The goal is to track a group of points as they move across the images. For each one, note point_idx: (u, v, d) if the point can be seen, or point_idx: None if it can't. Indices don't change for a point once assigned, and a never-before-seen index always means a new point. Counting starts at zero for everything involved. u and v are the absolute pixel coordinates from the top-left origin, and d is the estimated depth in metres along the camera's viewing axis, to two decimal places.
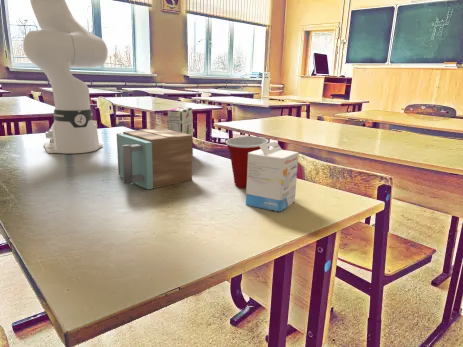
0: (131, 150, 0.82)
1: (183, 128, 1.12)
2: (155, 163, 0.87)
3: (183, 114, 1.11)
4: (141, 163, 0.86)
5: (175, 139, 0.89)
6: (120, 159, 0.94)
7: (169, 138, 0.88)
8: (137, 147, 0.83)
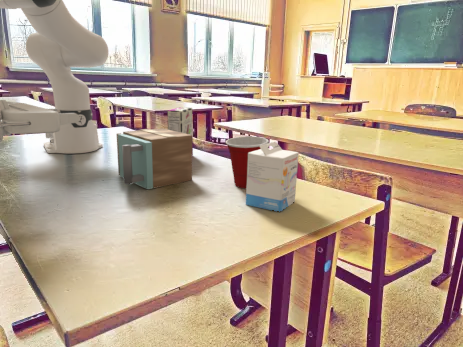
0: (131, 150, 0.82)
1: (183, 128, 1.12)
2: (155, 163, 0.87)
3: (183, 114, 1.11)
4: (141, 163, 0.86)
5: (175, 139, 0.89)
6: (120, 159, 0.94)
7: (169, 138, 0.88)
8: (137, 147, 0.83)
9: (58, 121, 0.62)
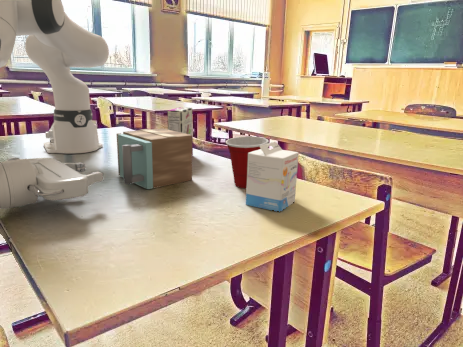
0: (131, 150, 0.82)
1: (183, 128, 1.12)
2: (155, 163, 0.87)
3: (183, 114, 1.11)
4: (141, 163, 0.86)
5: (175, 139, 0.89)
6: (120, 159, 0.94)
7: (169, 138, 0.88)
8: (137, 147, 0.83)
9: (87, 185, 0.68)
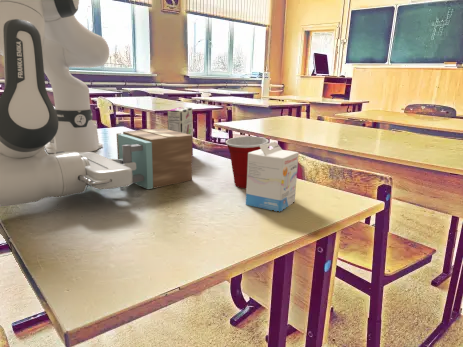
0: (131, 150, 0.82)
1: (183, 128, 1.12)
2: (155, 163, 0.87)
3: (183, 114, 1.11)
4: (141, 163, 0.86)
5: (175, 139, 0.89)
6: None
7: (169, 138, 0.88)
8: (137, 147, 0.83)
9: (131, 176, 0.74)
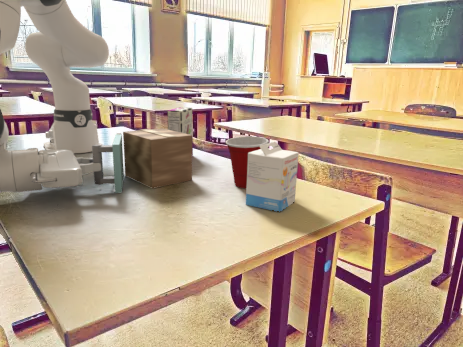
0: (99, 151, 0.81)
1: (183, 128, 1.12)
2: (155, 163, 0.87)
3: (183, 114, 1.11)
4: None
5: (175, 139, 0.89)
6: None
7: (169, 138, 0.88)
8: (106, 148, 0.81)
9: (80, 176, 0.72)
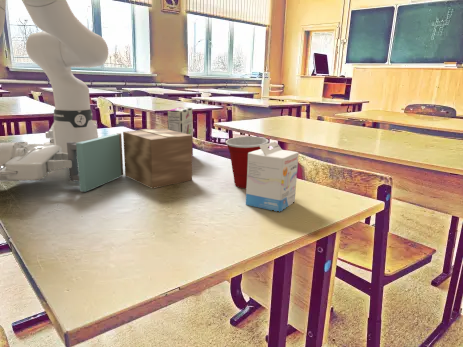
0: (70, 148, 0.83)
1: (183, 128, 1.12)
2: (155, 163, 0.87)
3: (183, 114, 1.11)
4: None
5: (175, 139, 0.89)
6: None
7: (169, 138, 0.88)
8: (76, 146, 0.82)
9: (40, 171, 0.75)
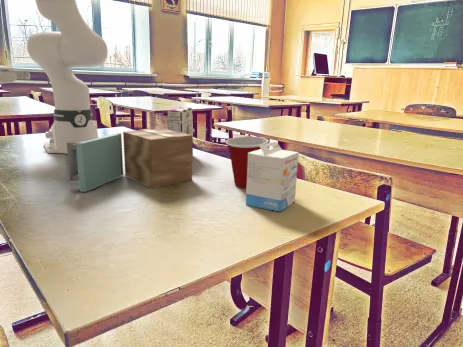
0: (70, 148, 0.83)
1: (183, 128, 1.12)
2: (155, 163, 0.87)
3: (183, 114, 1.11)
4: None
5: (175, 139, 0.89)
6: None
7: (169, 138, 0.88)
8: (76, 146, 0.82)
9: None
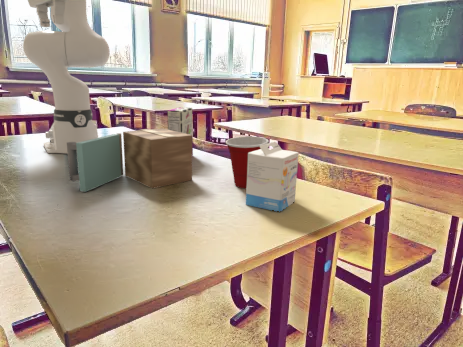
0: (70, 148, 0.83)
1: (183, 128, 1.12)
2: (155, 163, 0.87)
3: (183, 114, 1.11)
4: None
5: (175, 139, 0.89)
6: None
7: (169, 138, 0.88)
8: (76, 146, 0.82)
9: None
